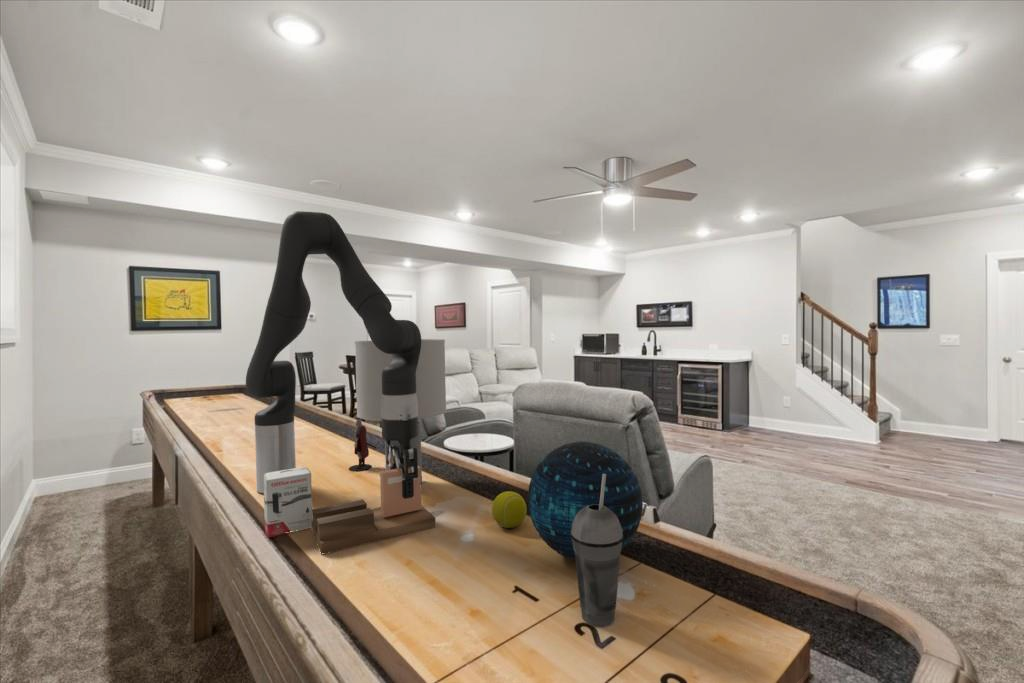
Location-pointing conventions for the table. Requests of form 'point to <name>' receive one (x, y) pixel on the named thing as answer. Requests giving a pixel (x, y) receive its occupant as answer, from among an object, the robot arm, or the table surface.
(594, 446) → the decorative sphere
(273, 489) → the ink box
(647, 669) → the table surface
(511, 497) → the tennis ball
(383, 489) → the stub
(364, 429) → the figurine
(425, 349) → the lamp
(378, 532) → the block
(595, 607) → the beverage cup
